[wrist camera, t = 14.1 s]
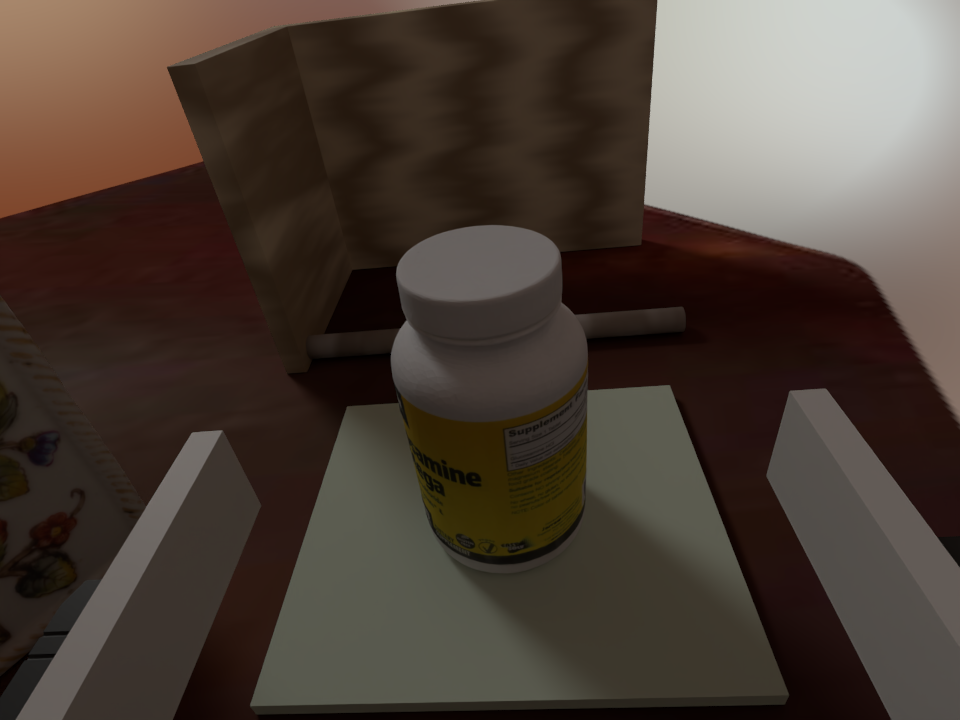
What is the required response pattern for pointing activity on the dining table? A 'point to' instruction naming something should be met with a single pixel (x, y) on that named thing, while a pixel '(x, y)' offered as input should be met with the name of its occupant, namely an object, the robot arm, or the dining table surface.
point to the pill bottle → (493, 395)
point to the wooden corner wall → (423, 146)
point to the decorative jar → (50, 494)
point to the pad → (520, 588)
